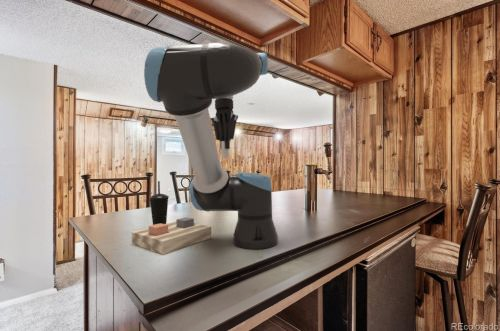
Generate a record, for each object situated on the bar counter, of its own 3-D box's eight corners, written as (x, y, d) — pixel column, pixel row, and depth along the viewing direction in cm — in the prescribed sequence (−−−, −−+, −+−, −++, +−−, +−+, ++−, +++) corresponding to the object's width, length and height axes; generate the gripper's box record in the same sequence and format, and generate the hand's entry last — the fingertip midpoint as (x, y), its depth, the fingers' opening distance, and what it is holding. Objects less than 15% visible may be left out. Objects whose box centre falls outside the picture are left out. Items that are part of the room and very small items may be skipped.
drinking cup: (163, 232, 98) (162, 181, 98) (145, 231, 99) (144, 182, 99) (173, 227, 105) (172, 180, 105) (156, 227, 107) (155, 180, 107)
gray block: (193, 232, 92) (193, 218, 92) (184, 235, 89) (184, 221, 89) (186, 230, 95) (186, 217, 95) (176, 233, 91) (176, 219, 91)
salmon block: (168, 239, 83) (168, 225, 83) (156, 243, 80) (156, 227, 80) (160, 237, 86) (160, 223, 86) (148, 241, 82) (148, 226, 82)
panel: (211, 237, 90) (211, 226, 90) (162, 254, 74) (162, 241, 74) (180, 230, 101) (179, 220, 101) (131, 243, 85) (131, 232, 85)
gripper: (242, 98, 101) (243, 156, 101) (218, 103, 109) (219, 157, 109) (230, 94, 95) (231, 156, 95) (206, 100, 103) (207, 157, 103)
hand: (225, 157), depth 102 cm, fingers closed
